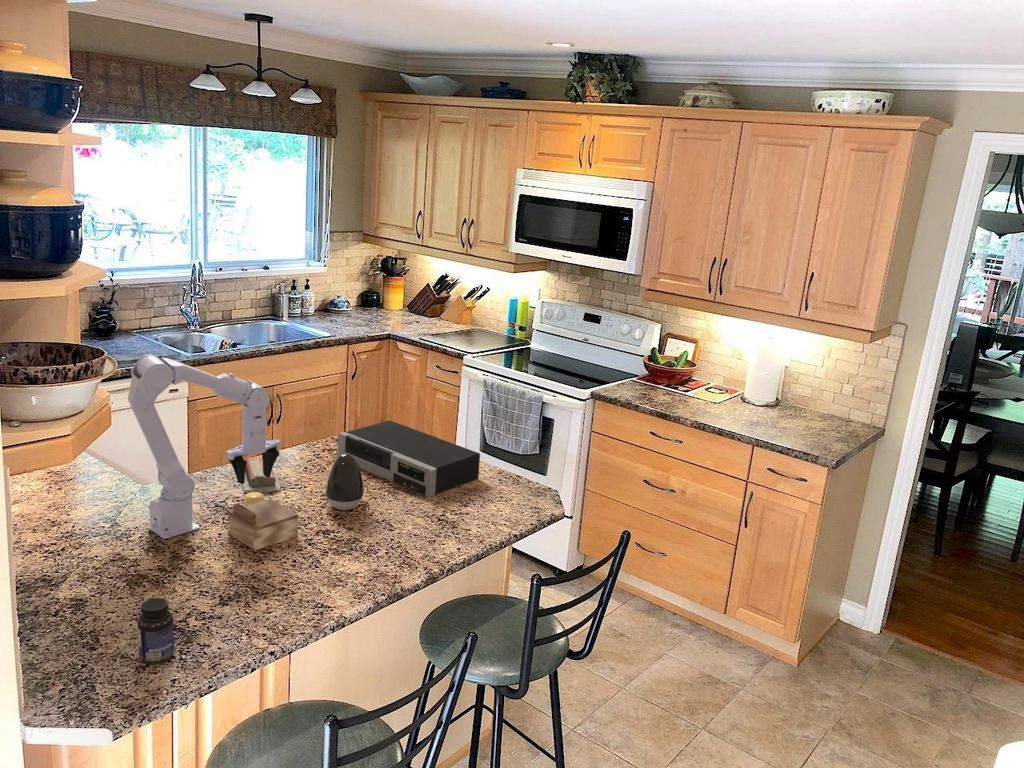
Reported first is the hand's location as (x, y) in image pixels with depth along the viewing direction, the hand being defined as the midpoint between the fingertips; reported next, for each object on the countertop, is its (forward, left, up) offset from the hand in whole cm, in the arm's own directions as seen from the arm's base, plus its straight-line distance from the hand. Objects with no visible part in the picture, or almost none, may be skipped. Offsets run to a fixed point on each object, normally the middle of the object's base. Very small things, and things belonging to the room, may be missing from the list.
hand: (254, 479), depth 216 cm
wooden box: (-5, -12, -10) cm, 16 cm away
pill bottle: (-48, -43, -10) cm, 65 cm away
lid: (-5, -12, -4) cm, 14 cm away
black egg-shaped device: (+21, -11, -10) cm, 26 cm away
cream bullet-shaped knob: (0, 0, -10) cm, 10 cm away
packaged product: (+13, +18, -10) cm, 25 cm away
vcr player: (+52, 0, -10) cm, 53 cm away
